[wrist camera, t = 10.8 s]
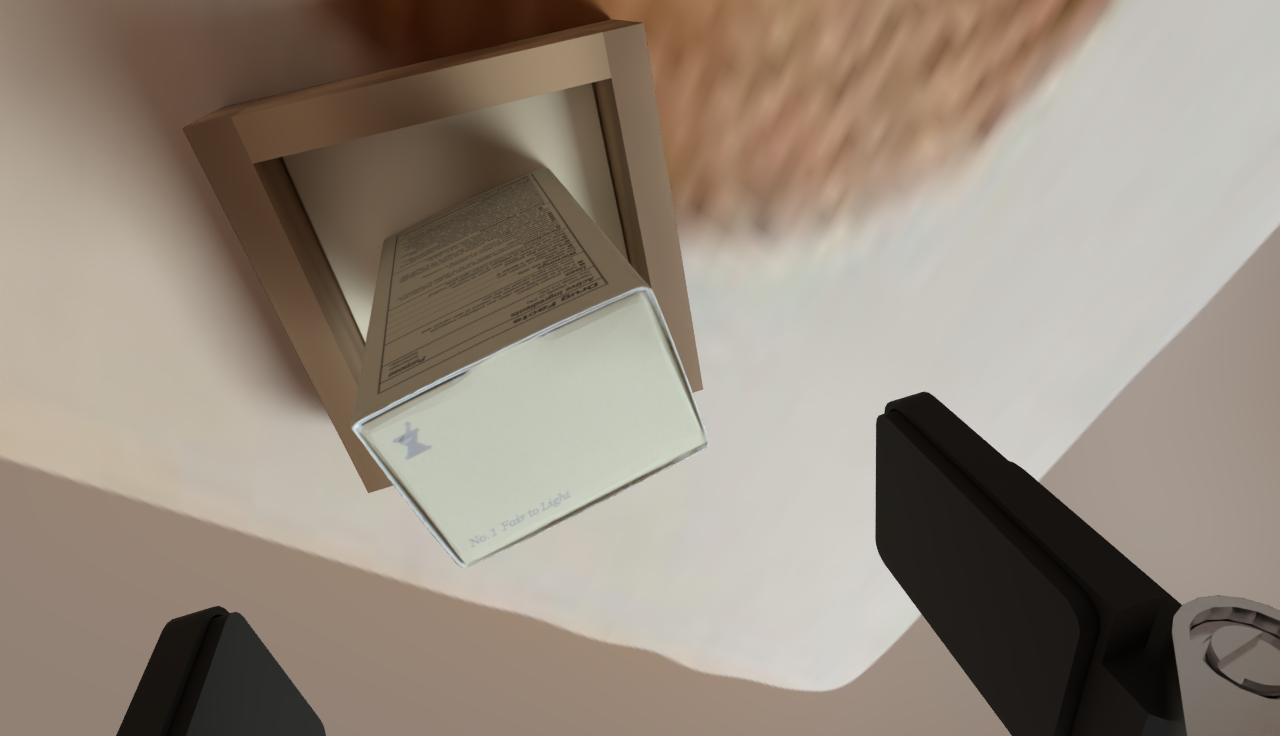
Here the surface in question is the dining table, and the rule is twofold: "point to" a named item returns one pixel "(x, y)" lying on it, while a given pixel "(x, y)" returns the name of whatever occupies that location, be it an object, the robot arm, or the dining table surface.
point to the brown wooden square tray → (438, 180)
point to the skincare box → (517, 370)
